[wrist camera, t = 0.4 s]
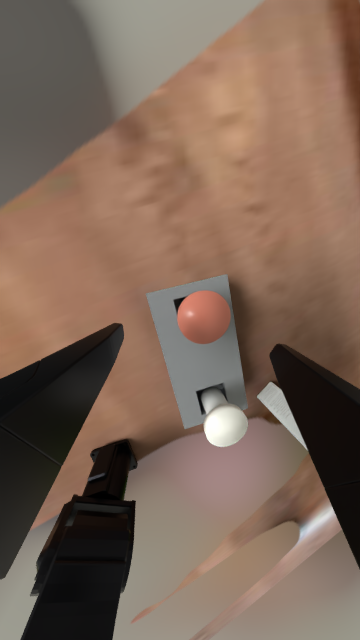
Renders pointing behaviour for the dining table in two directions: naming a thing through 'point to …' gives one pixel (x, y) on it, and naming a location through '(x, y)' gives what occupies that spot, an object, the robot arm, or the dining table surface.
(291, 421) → the skincare box
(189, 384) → the block
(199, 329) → the red plunger
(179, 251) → the dining table surface
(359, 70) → the dining table surface
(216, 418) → the white plunger
